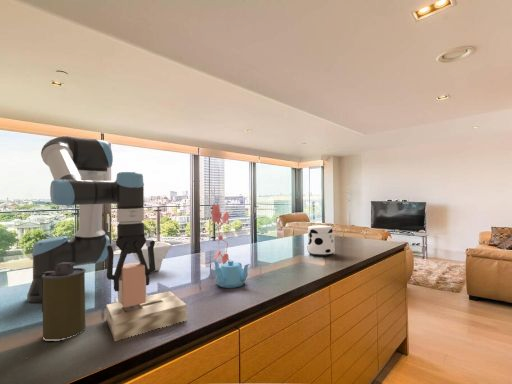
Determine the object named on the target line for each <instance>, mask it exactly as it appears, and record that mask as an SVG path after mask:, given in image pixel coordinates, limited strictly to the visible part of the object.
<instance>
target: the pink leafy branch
mask: <svg viewBox="0 0 512 384" xmlns="http://www.w3.org/2000/svg"><path fill="white" fill-rule="evenodd" d="M210 214H211V216H212V218H211V220H210V221H209V223H211V222H212V221H213V224H217V225H218V226H217V231H218V238H217V239H218V241H217V242H218V244H220V241H223V242H225V243H226V247H228V246H229V243H228V242H227V241H226V240H224V239H223V235H220V229H219V228H220V227H221V226H222V225H224V224H225V225H230V221H229V218H230V214H229V212H228V211H226V212H224V214H223V215H222V212H220V205H219V204H218V203H216V204H215V203H212V209H211V211H210ZM225 249H226V250H225V253H224V254H223V256H222V253H221V252H222V251H221V250H218V252H217V253H216V255H215V257H214V258H213V259H214V260H216V261H217V259H219V258H221V260H222V261H221V262H222V265H223V264H225V263H228V261H231V260H230V259H229V254H228V253H227V252H228V248H225ZM207 267H208V268H210V266H209V265H208V266H207Z"/></svg>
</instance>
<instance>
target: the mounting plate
mask: <svg viewBox="0 0 512 384" xmlns="http://www.w3.org/2000/svg"><path fill="white" fill-rule="evenodd" d="M145 299H146V303H142V304H138V306H139V309H138V310H134V311H129V312H126V308H127V307H123V306H122V304H121V303H119V302H117V303H115V302H112V303H109V304H108V303H107V304H106V322H107V325H108V327H109V329H110V333H111V335H112V338H113V341H114V342H117V341H118V342H119V341H122V340H125V339H129V338H132V337H134V336H135V335H136V336H138V334H139V335H142V333H143V334H146V333H149V332H148V331H150V332H152V331H151V330H153V331H155V330H154V329H157V328H160V329H163V328H167V327H170V326H174V325H177V324H180V323H179V322H181V323H184V322H186V321H187V317H188V315H187V311H188V310H187V303H185V302H184V301H183V300H181V299H180V297H178V296H176V294H174V293H173V292H171V290H169V291H164V292H160V293H155V294H150V295H147V296H146V297H145ZM183 321H184V322H183ZM187 322H188V321H187ZM176 323H177V324H176ZM173 324H174V325H173ZM166 326H167V327H166ZM162 327H163V328H162ZM157 330H158V329H157ZM145 332H146V333H145ZM131 336H132V337H131ZM136 336H135V337H136ZM128 337H129V338H128ZM121 339H122V340H121Z"/></svg>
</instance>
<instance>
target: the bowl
mask: <svg viewBox="0 0 512 384" xmlns="http://www.w3.org/2000/svg"><path fill="white" fill-rule="evenodd" d="M153 249H154V260H155V272H156V271H161V267H162V263H163V260H164V259H166V257H167V255H168V253H169V251H170V249H172V244H171V243H168V242H165V241H155V244H154V248H153ZM141 250H142V253H143V256H144V259H145V262H146V264H147V267H148V269H149V258H148V247H147V246H146V243H145V244H144V246H143V247H142V249H141ZM131 254H132V255H133V257H134V258H135V260H136V261H137V262H140V261H139V259H138V256H137V254H136V253H131Z"/></svg>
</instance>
